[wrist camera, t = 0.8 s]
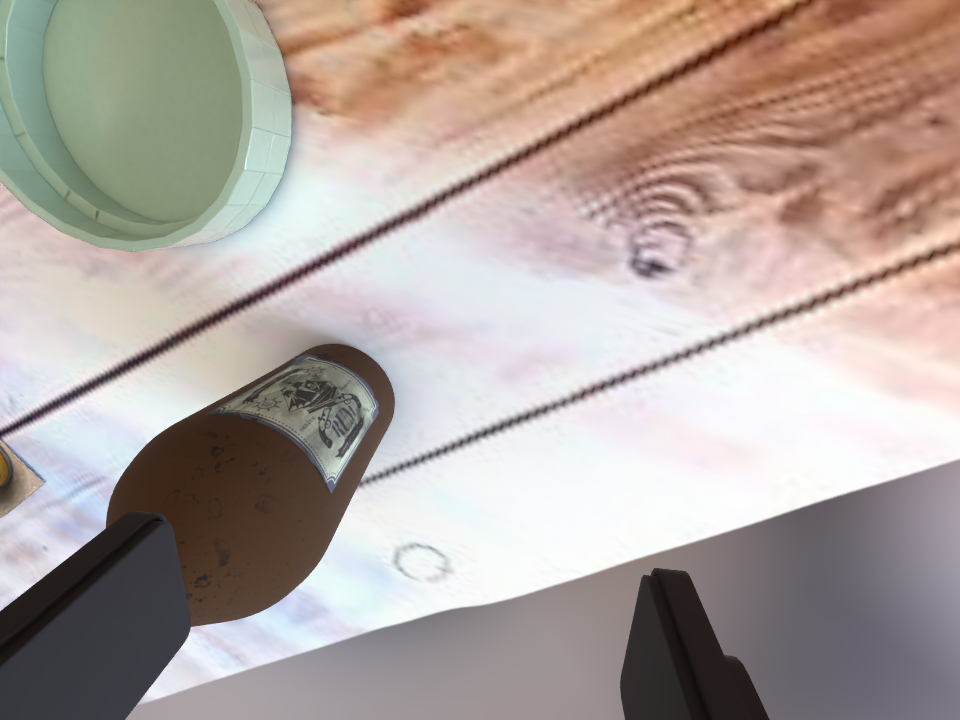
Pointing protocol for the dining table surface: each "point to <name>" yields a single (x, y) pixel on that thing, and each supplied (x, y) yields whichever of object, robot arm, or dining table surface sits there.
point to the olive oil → (262, 478)
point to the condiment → (14, 480)
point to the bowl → (142, 117)
